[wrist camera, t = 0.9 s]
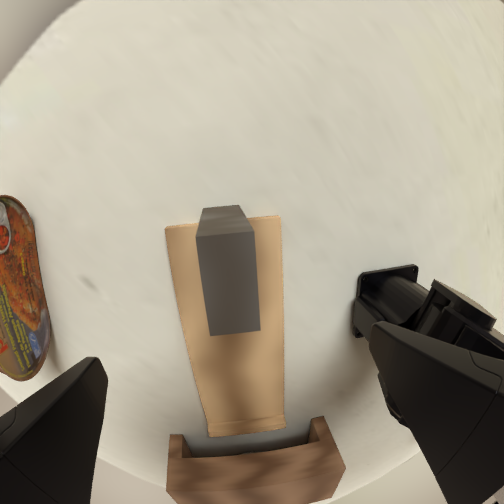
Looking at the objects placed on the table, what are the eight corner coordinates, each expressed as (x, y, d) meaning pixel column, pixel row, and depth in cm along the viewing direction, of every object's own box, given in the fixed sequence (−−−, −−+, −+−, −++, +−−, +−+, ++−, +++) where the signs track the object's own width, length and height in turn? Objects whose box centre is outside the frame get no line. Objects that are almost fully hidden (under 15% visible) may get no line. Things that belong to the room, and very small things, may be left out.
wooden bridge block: (323, 415, 28) (346, 467, 20) (315, 455, 31) (331, 498, 23) (169, 434, 26) (166, 490, 18) (189, 471, 29) (190, 516, 22)
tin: (58, 346, 21) (22, 403, 13) (35, 341, 21) (-3, 393, 13) (33, 188, 17) (-37, 206, 9) (9, 190, 16) (-58, 208, 8)
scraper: (277, 201, 20) (315, 225, 12) (282, 414, 27) (299, 472, 19) (164, 212, 19) (134, 243, 11) (209, 423, 26) (212, 483, 18)
